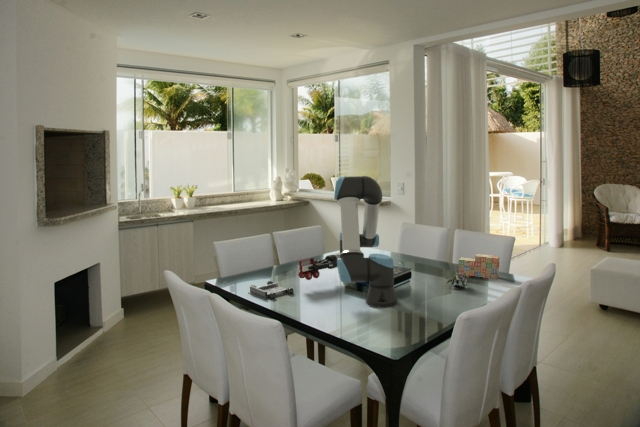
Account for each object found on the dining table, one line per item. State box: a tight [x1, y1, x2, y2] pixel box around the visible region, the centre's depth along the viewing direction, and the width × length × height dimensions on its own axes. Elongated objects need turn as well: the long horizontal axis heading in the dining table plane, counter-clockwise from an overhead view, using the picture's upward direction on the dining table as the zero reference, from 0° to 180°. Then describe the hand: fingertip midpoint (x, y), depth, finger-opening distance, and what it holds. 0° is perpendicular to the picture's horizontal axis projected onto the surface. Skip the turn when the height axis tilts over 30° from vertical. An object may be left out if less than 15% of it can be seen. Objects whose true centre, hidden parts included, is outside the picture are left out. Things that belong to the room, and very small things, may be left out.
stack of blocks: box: [458, 253, 500, 280], centre depth 267 cm, size 21×6×12 cm, turn 60°
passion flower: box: [445, 269, 470, 290], centre depth 245 cm, size 11×11×12 cm
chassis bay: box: [248, 280, 294, 300], centre depth 244 cm, size 20×18×4 cm
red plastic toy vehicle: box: [298, 257, 321, 281], centre depth 247 cm, size 7×12×10 cm, turn 132°
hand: (300, 268), depth 244 cm, fingers closed on red plastic toy vehicle, 3 cm apart
